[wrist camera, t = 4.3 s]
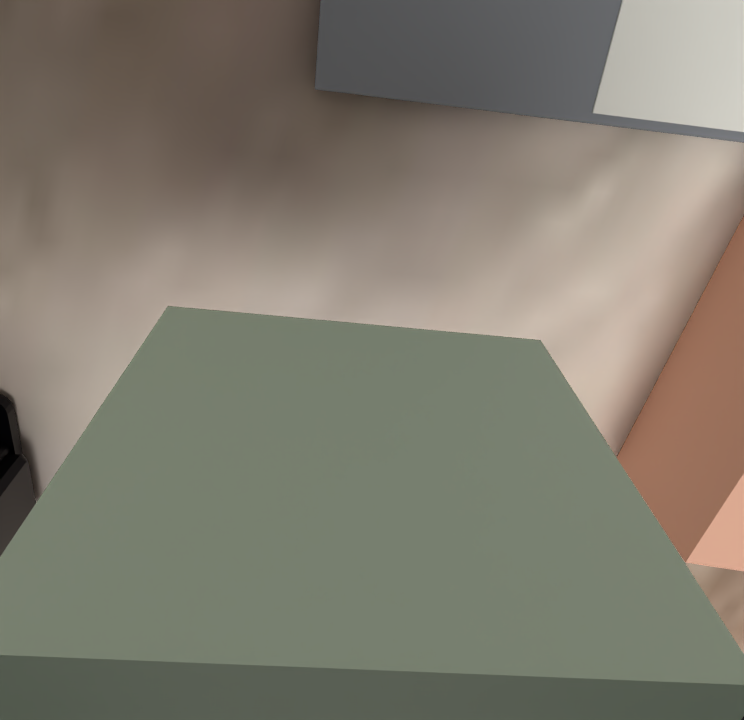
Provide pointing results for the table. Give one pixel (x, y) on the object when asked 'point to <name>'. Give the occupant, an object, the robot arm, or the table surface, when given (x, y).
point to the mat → (547, 59)
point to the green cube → (350, 543)
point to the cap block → (699, 427)
